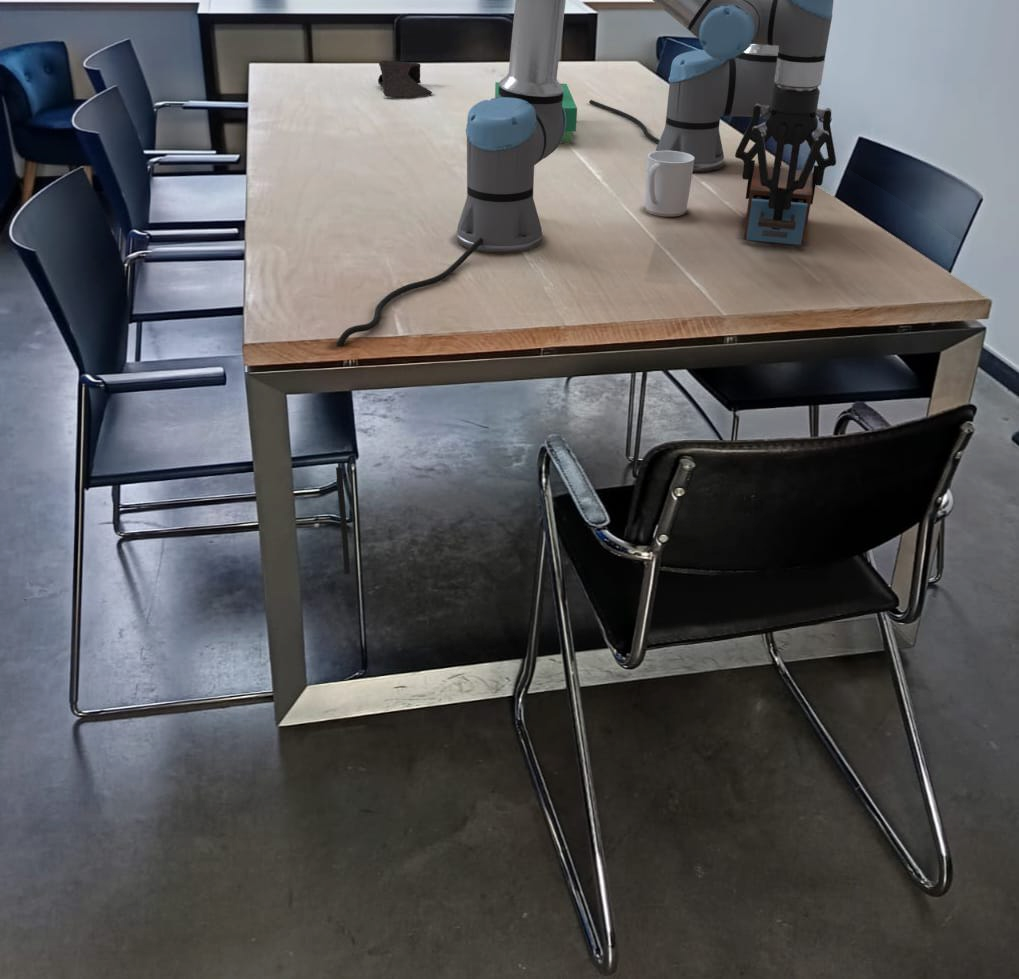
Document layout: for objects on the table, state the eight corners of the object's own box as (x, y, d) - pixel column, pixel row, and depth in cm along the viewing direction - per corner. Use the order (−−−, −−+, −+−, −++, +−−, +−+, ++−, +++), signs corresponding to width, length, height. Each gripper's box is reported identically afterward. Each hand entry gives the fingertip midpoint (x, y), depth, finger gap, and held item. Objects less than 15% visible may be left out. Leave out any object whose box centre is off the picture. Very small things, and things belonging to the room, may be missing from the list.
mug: (658, 200, 218) (663, 148, 212) (697, 210, 213) (703, 156, 208) (627, 213, 210) (631, 159, 205) (667, 223, 206) (672, 168, 200)
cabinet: (803, 244, 197) (812, 195, 192) (743, 238, 199) (749, 189, 194) (805, 218, 209) (812, 170, 205) (747, 213, 212) (754, 166, 207)
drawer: (800, 255, 190) (807, 215, 186) (744, 250, 192) (750, 209, 188) (802, 220, 206) (808, 182, 202) (750, 215, 207) (755, 177, 204)
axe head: (443, 87, 294) (392, 77, 287) (436, 115, 299) (385, 106, 292) (421, 62, 307) (371, 52, 300) (414, 89, 311) (365, 80, 304)
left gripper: (837, 84, 181) (814, 223, 193) (757, 79, 183) (739, 217, 196) (838, 93, 175) (814, 237, 187) (755, 88, 177) (737, 230, 189)
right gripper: (864, 77, 195) (842, 199, 206) (732, 68, 199) (718, 188, 211) (865, 85, 189) (843, 210, 200) (729, 75, 193) (715, 199, 205)
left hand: (776, 226), depth 191 cm, fingers closed
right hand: (779, 199), depth 206 cm, fingers closed on cabinet, 11 cm apart
